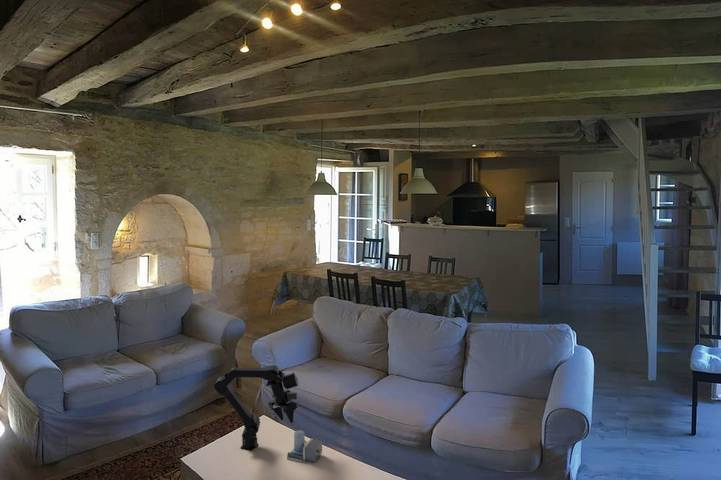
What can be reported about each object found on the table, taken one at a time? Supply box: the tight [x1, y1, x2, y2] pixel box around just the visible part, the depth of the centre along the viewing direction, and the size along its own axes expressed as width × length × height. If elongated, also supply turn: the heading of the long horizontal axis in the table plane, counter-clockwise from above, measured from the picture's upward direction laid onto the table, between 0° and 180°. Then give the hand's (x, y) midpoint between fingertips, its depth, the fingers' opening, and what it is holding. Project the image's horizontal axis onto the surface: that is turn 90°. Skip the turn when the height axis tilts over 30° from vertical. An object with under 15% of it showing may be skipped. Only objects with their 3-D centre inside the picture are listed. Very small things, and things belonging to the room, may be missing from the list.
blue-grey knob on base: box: [290, 429, 308, 455], centre depth 234 cm, size 6×6×10 cm
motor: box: [286, 437, 323, 463], centre depth 233 cm, size 15×11×7 cm
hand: (287, 421), depth 239 cm, fingers open, 9 cm apart
